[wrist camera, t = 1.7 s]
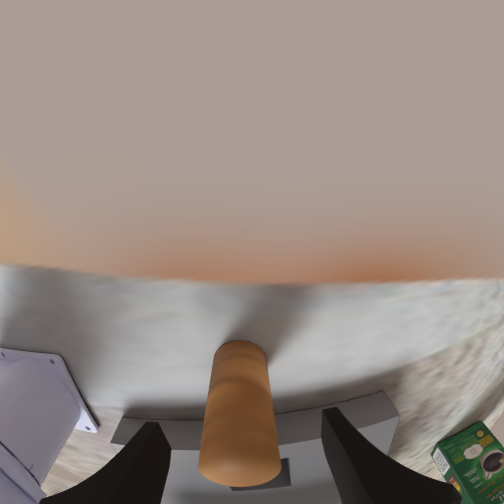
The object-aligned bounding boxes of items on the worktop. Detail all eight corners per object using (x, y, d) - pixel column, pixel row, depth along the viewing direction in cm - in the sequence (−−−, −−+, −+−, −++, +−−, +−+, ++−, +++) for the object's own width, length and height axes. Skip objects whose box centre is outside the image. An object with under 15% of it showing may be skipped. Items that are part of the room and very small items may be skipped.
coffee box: (426, 457, 20) (469, 529, 8) (434, 443, 20) (482, 519, 7) (472, 432, 21) (517, 491, 8) (481, 418, 20) (531, 477, 7)
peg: (218, 384, 16) (208, 487, 9) (209, 343, 16) (188, 449, 8) (268, 379, 16) (283, 482, 9) (263, 337, 16) (278, 443, 8)
